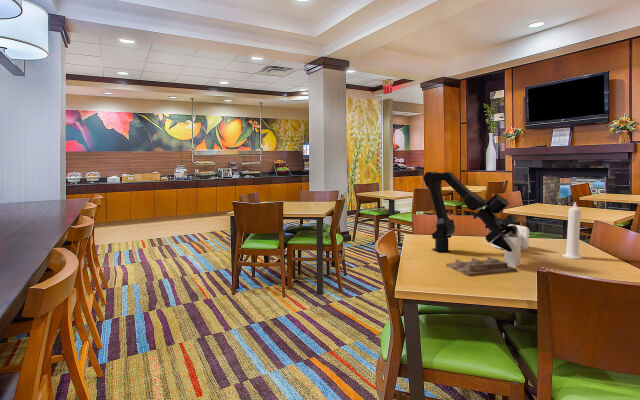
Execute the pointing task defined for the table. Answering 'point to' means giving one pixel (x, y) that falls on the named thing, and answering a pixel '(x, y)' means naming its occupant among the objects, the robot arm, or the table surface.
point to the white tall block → (513, 250)
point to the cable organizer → (522, 233)
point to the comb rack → (481, 267)
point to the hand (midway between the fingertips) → (516, 249)
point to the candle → (573, 233)
